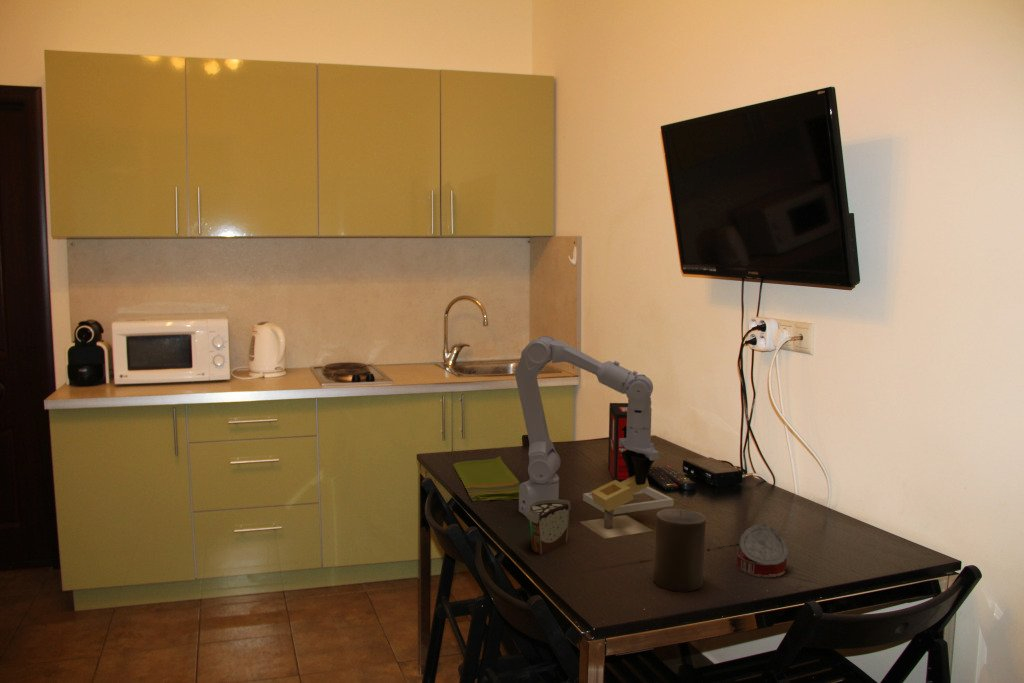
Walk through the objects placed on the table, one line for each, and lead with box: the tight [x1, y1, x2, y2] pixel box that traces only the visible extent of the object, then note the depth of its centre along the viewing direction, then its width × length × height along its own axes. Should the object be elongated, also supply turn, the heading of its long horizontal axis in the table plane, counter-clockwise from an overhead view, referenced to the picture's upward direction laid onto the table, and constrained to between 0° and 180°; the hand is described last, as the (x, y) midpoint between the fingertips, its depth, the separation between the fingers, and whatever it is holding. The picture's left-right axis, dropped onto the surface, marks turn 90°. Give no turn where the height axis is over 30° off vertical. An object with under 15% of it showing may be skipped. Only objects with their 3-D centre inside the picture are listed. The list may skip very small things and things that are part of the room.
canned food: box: [736, 523, 789, 575], centre depth 173 cm, size 11×10×10 cm
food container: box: [525, 499, 572, 555], centre depth 183 cm, size 12×6×10 cm, turn 141°
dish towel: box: [452, 455, 521, 501], centre depth 234 cm, size 15×36×3 cm, turn 12°
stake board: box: [579, 509, 654, 540], centre depth 196 cm, size 13×12×6 cm
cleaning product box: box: [607, 402, 629, 482], centre depth 239 cm, size 16×9×20 cm, turn 0°
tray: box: [582, 486, 675, 516], centre depth 214 cm, size 19×13×2 cm
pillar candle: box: [653, 508, 707, 593], centre depth 166 cm, size 10×10×15 cm
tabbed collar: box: [590, 475, 650, 511], centre depth 198 cm, size 13×7×3 cm, turn 113°
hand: (637, 482), depth 199 cm, fingers closed on tabbed collar, 2 cm apart
